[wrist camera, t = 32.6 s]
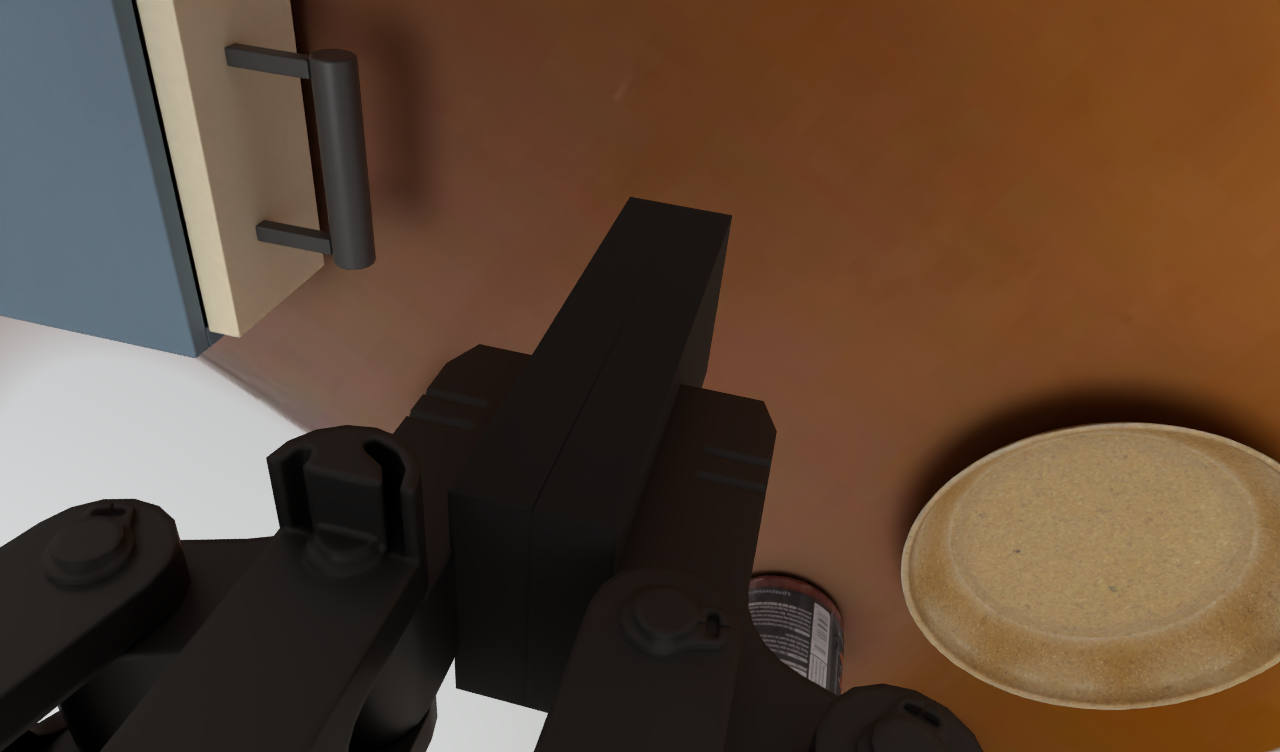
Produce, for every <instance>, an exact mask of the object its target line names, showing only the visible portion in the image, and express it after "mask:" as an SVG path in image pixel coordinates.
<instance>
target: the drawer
mask: <svg viewBox="0 0 1280 752" xmlns="http://www.w3.org/2000/svg"><path fill="white" fill-rule="evenodd" d="M131 2H132V6H133V11H134V15H135V20H136V24H137V28H138V33H139V37H140V42H141V46H142V51H143V55H144V60H145V64H146V68H147V73H148V77H149V82H150V86H151V91H152V95H153V100H154V104H155V108H156V113H157V117H158V122H159V126H160V131H161V135H162V139H163V144H164V148H165V153H166V157H167V162H168V166H169V171H170V175H171V179H172V184H173V188H174V193H175V197H176V202H177V206H178V211H179V215H180V219H181V224H182V228H183V233H184V237H185V242H186V246H187V251H188V255H189V259H190V264H191V268H192V273H193V277H194V282H195V286H196V288H198V287H199V286H200V290H201V294H202V299H203V303H204V308H205V312H206V317H207V321H208V326H209V330H210V331H211V332H215V333H220V334H225V335H229V336H234V337H241V336H242V335H243V334H245V333H246V332H247V331H248V330H249V329H250V328H252V327H253V326H254V325H255V324H256V323H257V322H259V321H260V320H261V319H262V318H263V317H264V316H266V315H267V314H268V313H269V312H270V311H271V310H273V309H274V308H275V307H276V306H277V305H278V304H280V303H281V302H282V301H283V300H284V299H285V298H287V297H288V296H289V295H290V294H291V293H292V292H294V291H295V290H296V289H297V288H298V287H299V286H301V285H302V284H303V283H304V282H305V281H307V280H308V279H309V278H310V277H311V276H312V275H314V274H315V273H316V272H317V271H318V270H319V269H321V268H322V267H323V266H324V259H323V254H328V255H332V254H333V260H334V263H335V264H336V265H337V266H338V267H340V268H343V269H349V270H357V269H363V268H367V267H369V266H371V265H372V264H373V263H374V262H375V259H376V256H375V245H374V234H373V223H372V212H371V202H370V191H369V180H368V169H367V158H366V147H365V137H364V126H363V115H362V104H361V93H360V82H359V71H358V61H357V56H356V55H355V54H354V53H352V52H350V51H346V50H340V49H323V50H318V51H315V52H312V53H311V54H310V55H306V54H300V53H297V50H296V43H295V35H294V27H293V19H292V12H291V4H290V0H131ZM300 78H303V79H311V81H312V89H313V98H314V106H315V114H316V122H317V130H318V138H319V147H320V155H321V163H322V171H323V179H324V187H325V196H326V204H327V212H328V220H329V228H330V232H326V231H320V228H319V220H318V213H317V205H316V197H315V189H314V182H313V174H312V166H311V158H310V151H309V143H308V135H307V128H306V120H305V112H304V104H303V97H302V89H301V81H300Z"/></svg>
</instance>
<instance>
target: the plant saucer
mask: <svg viewBox="0 0 1280 752" xmlns="http://www.w3.org/2000/svg"><path fill="white" fill-rule="evenodd" d="M901 582H902V588H903V593H904V597H905V600H906V603H907V606H908V608H909V611H910V613H911V615H912V617H913V619H914V621H915V622H916V624H917V626H918V627H919V629H920V630H921V631H922V632H923V634H924V635H925V637H926V638H927V639H928V640H929V641H930V643H931V644H932V645H933V646H935V647H936V648H937V649H938V650H939V652H941V653H942V654H943V655H945V656H946V657H947V658H948V659H949V660H950V661H951V662H953V663H954V664H956V665H957V666H959V667H960V668H962V669H964V670H965V671H967V672H968V673H970V674H971V675H973V676H975V677H976V678H978V679H980V680H982V681H984V682H986V683H988V684H991V685H993V686H995V687H997V688H1000V689H1002V690H1005V691H1007V692H1010V693H1012V694H1016V695H1019V696H1022V697H1025V698H1028V699H1032V700H1036V701H1040V702H1044V703H1049V704H1054V705H1061V706H1067V707H1076V708H1086V709H1101V710H1126V709H1133V708H1148V707H1154V706H1162V705H1170V704H1176V703H1181V702H1184V701H1187V700H1192V699H1196V698H1199V697H1204V696H1207V695H1211V694H1214V693H1216V692H1220V691H1222V690H1225V689H1227V688H1230V687H1232V686H1234V685H1236V684H1238V683H1241V682H1243V681H1246V680H1248V679H1249V678H1251V677H1253V676H1255V675H1257V674H1260V673H1262V672H1264V671H1265V670H1267V669H1268V668H1270V667H1272V666H1273V665H1275V664H1276V663H1278V662H1279V661H1280V463H1278V462H1277V461H1275V460H1273V459H1272V458H1270V457H1268V456H1266V455H1265V454H1263V453H1261V452H1259V451H1257V450H1255V449H1253V448H1251V447H1248V446H1246V445H1244V444H1241V443H1239V442H1236V441H1233V440H1231V439H1228V438H1225V437H1222V436H1219V435H1215V434H1212V433H1208V432H1203V431H1199V430H1195V429H1190V428H1184V427H1179V426H1173V425H1164V424H1154V423H1143V422H1106V423H1092V424H1083V425H1077V426H1071V427H1065V428H1059V429H1055V430H1051V431H1047V432H1043V433H1039V434H1035V435H1032V436H1029V437H1026V438H1023V439H1021V440H1018V441H1016V442H1013V443H1010V444H1008V445H1006V446H1003V447H1001V448H999V449H997V450H995V451H993V452H992V453H990V454H988V455H986V456H984V457H982V458H980V459H979V460H977V461H976V462H974V463H972V464H971V465H969V466H968V467H966V468H965V469H964V470H962V471H961V472H960V473H958V474H957V475H956V476H954V477H953V478H952V479H951V480H949V481H948V482H947V483H946V484H945V485H944V486H943V487H942V488H940V489H939V490H938V491H937V492H936V493H935V494H934V496H933V497H932V498H931V499H930V500H929V501H928V502H927V504H926V505H925V506H924V508H923V509H922V510H921V512H920V513H919V515H918V517H917V518H916V520H915V521H914V523H913V525H912V527H911V529H910V531H909V534H908V536H907V539H906V542H905V545H904V549H903V555H902V561H901Z"/></svg>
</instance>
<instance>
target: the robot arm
mask: <svg viewBox="0 0 1280 752" xmlns="http://www.w3.org/2000/svg"><path fill="white" fill-rule="evenodd" d="M731 219H732V215H727V214H721V213H716V212H710V211H705V210H699V209H694V208H688V207H683V206H677V205H672V204H666V203H661V202H656V201H650V200H645V199H639V198H634V197H630V198H629V200H628V201H627V203H626V204H625V206H624V208H623V209H622V211H621V212H620V214H619V216H618V217H617V219H616V220H615V222H614V224H613V225H612V227H611V229H610V230H609V232H608V233H607V235H606V237H605V238H604V240H603V241H602V243H601V245H600V246H599V248H598V250H597V251H596V253H595V254H594V256H593V258H592V259H591V261H590V262H589V264H588V266H587V267H586V269H585V270H584V272H583V274H582V275H581V277H580V279H579V280H578V282H577V283H576V285H575V287H574V288H573V290H572V291H571V293H570V295H569V296H568V298H567V300H566V301H565V303H564V304H563V306H562V308H561V309H560V311H559V312H558V314H557V316H556V317H555V319H554V320H553V322H552V324H551V325H550V327H549V329H548V330H547V332H546V333H545V335H544V337H543V338H542V340H541V341H540V343H539V345H538V346H537V348H536V350H535V351H534V353H533V354H532V355H528V354H523V353H519V352H514V351H509V350H504V349H500V348H495V347H490V346H485V345H481V344H479V345H477V346H475V347H474V348H472V349H470V350H469V351H467V352H465V353H463V354H462V355H460V356H458V357H457V358H455V359H453V360H451V361H450V362H448V363H446V365H445V366H444V367H443V369H442V370H441V371H440V373H439V374H438V375H437V377H436V378H435V379H434V380H433V382H432V383H431V384H430V386H429V387H428V388H427V392H426V395H422V396H421V398H420V399H419V400H418V402H417V403H416V404H415V406H414V407H413V408H412V410H411V413H410V416H409V417H408V416H406V418H405V419H404V420H403V421H402V423H401V424H400V425H399V427H398V428H397V429H396V431H395V432H394V433H393V434H391V433H388V432H386V431H383V430H381V429H378V428H373V427H362V426H351V425H344V426H337V427H331V428H324V429H317V430H314V431H312V432H309V433H307V434H304V435H302V436H299V437H297V438H294V439H292V440H289V441H287V442H286V443H285V444H283V445H282V446H281V447H280V448H278V449H277V450H276V451H274V452H273V453H272V454H270V455H269V456H268V457H267V458H266V459H267V464H268V469H269V474H270V479H271V485H272V489H273V495H274V500H275V505H276V510H277V515H278V520H279V525H280V529H279V530H278V531H277V533H276V534H275V535H274V536H271V537H261V538H251V539H218V540H217V539H215V540H180V538H179V534H178V531H177V527H176V524H175V520H174V519H173V518H171V516H169V515H168V514H167V513H166V512H165V511H164V510H163V509H161V508H160V507H159V506H157V505H154V504H150V503H147V502H143V501H140V500H136V499H103V500H99V501H95V502H91V503H87V504H83V505H79V506H75V507H71V508H69V509H67V510H65V511H62V512H60V513H58V514H57V515H54V516H52V517H50V518H48V519H46V520H44V521H42V522H40V523H38V524H37V525H35V526H33V527H32V528H30V529H29V530H27V531H26V532H24V533H22V534H21V535H19V536H18V537H16V538H15V539H13V540H11V541H10V542H8V543H7V544H5V545H3V546H2V547H0V752H426V750H427V748H428V746H429V743H430V742H431V739H432V736H433V732H434V728H435V724H436V720H437V707H436V706H437V705H436V694H437V692H438V690H439V688H440V686H441V684H442V682H443V680H444V678H445V676H446V674H447V672H448V670H449V668H450V666H451V664H452V662H453V660H454V658H455V676H456V688H457V689H461V690H465V691H469V692H472V693H476V694H480V695H484V696H487V697H491V698H495V699H498V700H502V701H506V702H510V703H513V704H517V705H521V706H525V707H528V708H532V709H536V710H540V711H543V712H547V713H548V715H547V718H546V720H545V723H544V726H543V729H542V731H541V734H540V737H539V740H538V742H537V745H536V748H535V750H534V752H983V750H982V748H981V747H980V745H979V743H978V741H977V739H976V737H975V736H974V734H973V733H972V732H971V731H970V730H969V729H968V728H967V727H966V726H965V725H964V724H963V723H962V722H961V721H960V720H959V719H958V718H957V717H956V716H955V715H954V714H953V713H952V712H951V711H950V710H949V709H948V708H947V707H945V706H943V705H941V704H939V703H937V702H936V701H934V700H932V699H930V698H928V697H926V696H925V695H923V694H921V693H919V692H917V691H915V690H911V689H906V688H901V687H897V686H892V685H888V684H876V685H868V686H860V687H853V688H852V689H850V690H848V691H847V692H845V693H843V694H842V695H840V696H838V695H836V694H834V693H832V692H831V691H829V690H827V689H825V688H824V687H822V686H820V685H818V684H817V683H815V682H813V681H811V680H810V679H808V678H806V677H804V676H802V675H801V674H799V673H798V672H797V671H795V670H794V669H792V668H791V667H789V666H788V665H787V664H785V663H784V662H782V661H781V660H780V659H779V658H778V657H777V656H776V655H775V654H774V653H773V652H772V651H771V650H770V649H769V647H768V646H767V645H766V644H765V643H764V641H763V640H762V638H761V636H760V635H759V633H758V631H757V630H756V628H755V626H754V624H753V620H752V617H751V614H750V610H749V586H750V580H751V574H752V569H753V563H754V557H755V552H756V546H757V540H758V535H759V529H760V523H761V518H762V512H763V506H764V501H765V495H766V489H767V484H768V478H769V472H770V466H771V461H772V455H773V449H774V444H775V438H776V432H777V431H776V429H775V426H774V424H773V422H772V419H771V417H770V415H769V412H768V410H767V408H766V405H765V403H764V401H760V400H755V399H750V398H746V397H741V396H736V395H731V394H727V393H722V392H717V391H712V390H708V389H703V388H702V385H703V382H704V378H705V375H706V372H707V366H708V360H709V354H710V348H711V341H712V335H713V329H714V323H715V317H716V311H717V305H718V299H719V293H720V286H721V280H722V274H723V268H724V262H725V256H726V250H727V244H728V238H729V232H730V225H731ZM57 706H58V708H59V711H58V712H56V713H55V714H53V715H52V716H50V717H48V718H46V719H45V720H43V721H41V722H40V723H37V722H38V721H40V720H41V719H42V718H43V717H44V716H46V715H47V714H48V713H50V712H51V711H52V710H53V709H54V708H56V707H57Z"/></svg>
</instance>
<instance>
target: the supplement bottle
mask: <svg viewBox="0 0 1280 752" xmlns="http://www.w3.org/2000/svg"><path fill="white" fill-rule="evenodd" d="M749 610H750V614H751V617H752V620H753V624H754V626H755V628H756V630H757V631H758V633H759V635H760V636H761V638H762V640H763V641H764V643H765V644H766V645H767V646H768V647H769V649H770V650H771V651H772V652H773V653H774V654H775V655H776V656H777V657H778V658H779V659H780V660H781V661H782V662H784V663H785V664H787V665H788V666H789V667H791V668H792V669H794V670H795V671H797V672H798V673H799V674H801V675H802V676H804V677H806V678H808V679H810V680H811V681H813V682H815V683H817V684H818V685H820V686H822V687H824V688H825V689H827V690H829V691H831V692H832V693H834V694H836V695H838V696H840V695H841V684H842V663H843V651H844V649H843V646H844V640H843V623H842V619H841V616H840V614H839V610H838V608H837V607H836V606H835V605H834V604H833V602H832V601H831V600H830V599H829V598H828V597H827V596H826V595H825V594H823V593H822V592H821V591H820V590H818V589H817V588H815V587H813V586H812V585H809V584H808V583H805V582H804V581H800V580H797V579H793V578H789V577H785V576H782V577H781V576H767V575H764V576H759V577H755V578H751V580H750V586H749Z"/></svg>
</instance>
